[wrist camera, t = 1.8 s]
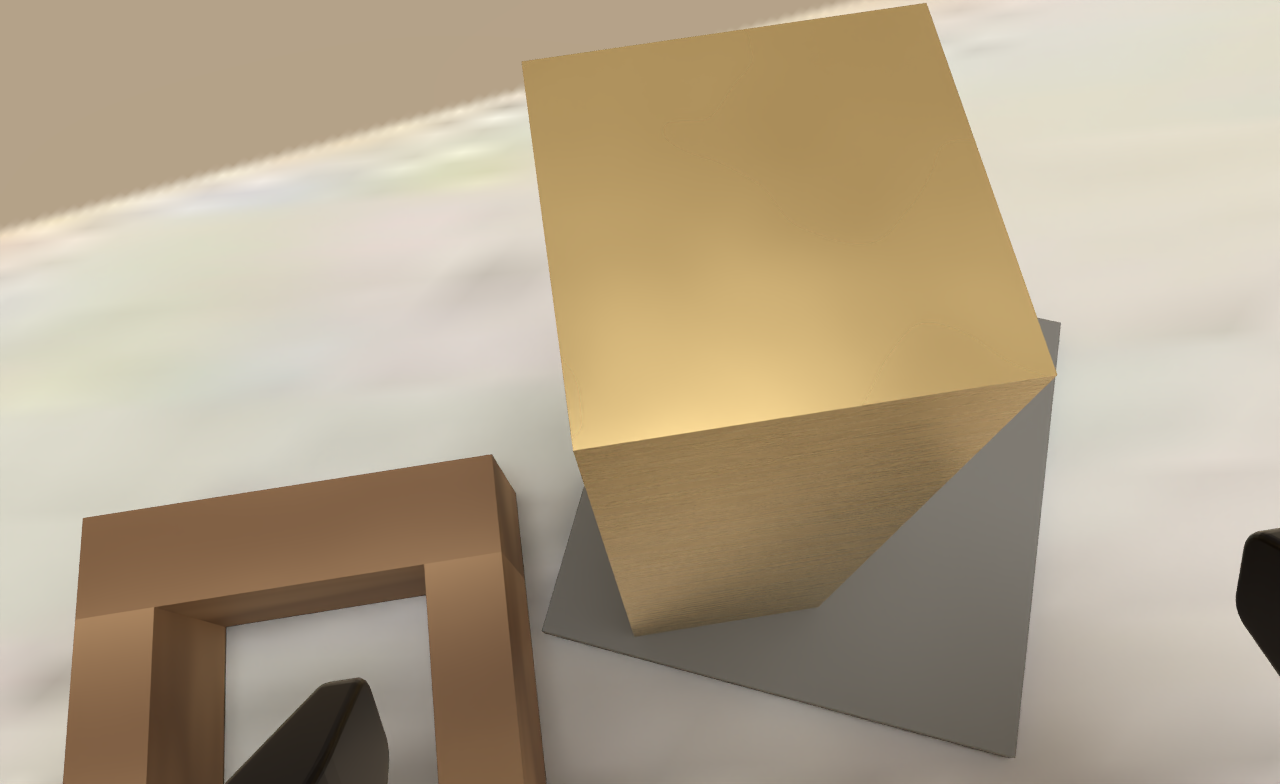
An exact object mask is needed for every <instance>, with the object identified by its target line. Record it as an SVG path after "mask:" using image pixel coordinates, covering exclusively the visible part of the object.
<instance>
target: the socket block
mask: <svg viewBox="0 0 1280 784" xmlns="http://www.w3.org/2000/svg"><path fill="white" fill-rule="evenodd" d="M422 595H426V599H427V615H428V630H429V645H430V660H431V676H432V691H433V706H434V721H435V737H436V752H437V767H438V783H439V784H546V775H545V766H544V757H543V747H542V738H541V728H540V719H539V709H538V700H537V691H536V681H535V672H534V662H533V653H532V643H531V634H530V625H529V615H528V606H527V596H526V587H525V577H524V568H523V558H522V549H521V540H520V530H519V521H518V511H517V502H516V493H515V492H514V490H513V488H512V487H511V485H510V483H509V482H508V480H507V478H506V477H505V475H504V474H503V472H502V470H501V469H500V467H499V465H498V464H497V462H496V460H495V459H494V457H493V455H492V454H491V455H484V456H478V457H472V458H465V459H459V460H452V461H446V462H439V463H433V464H427V465H420V466H414V467H407V468H401V469H395V470H388V471H382V472H375V473H369V474H363V475H356V476H350V477H343V478H337V479H331V480H324V481H318V482H311V483H305V484H299V485H292V486H286V487H279V488H273V489H267V490H260V491H254V492H247V493H241V494H234V495H228V496H222V497H215V498H209V499H202V500H196V501H190V502H183V503H177V504H170V505H164V506H158V507H151V508H145V509H138V510H132V511H126V512H119V513H113V514H106V515H100V516H94V517H87V518H83V524H82V537H81V550H80V564H79V577H78V590H77V603H76V617H75V630H74V643H73V656H72V670H71V683H70V696H69V709H68V723H67V736H66V749H65V762H64V776H63V784H223V764H224V698H225V633H226V627H228V626H234V625H240V624H247V623H253V622H259V621H265V620H272V619H278V618H284V617H290V616H297V615H303V614H309V613H316V612H322V611H328V610H334V609H341V608H347V607H353V606H359V605H366V604H372V603H378V602H384V601H391V600H397V599H403V598H409V597H416V596H422Z"/></svg>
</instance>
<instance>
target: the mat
mask: <svg viewBox="0 0 1280 784" xmlns="http://www.w3.org/2000/svg"><path fill="white" fill-rule="evenodd" d="M1037 319H1038V322H1039V324H1040V327H1041V330H1042V333H1043V336H1044V339H1045V341H1046V344H1047V347H1048V350H1049V353H1050V356H1051V359H1052V361H1053V364H1054V367H1055V370H1056V364H1057V355H1058V345H1059V336H1060V326H1061V323H1059V322H1055V321H1050V320H1045V319H1040V318H1037ZM1054 383H1055V378H1054V379H1053V380H1052V381H1051V382H1050V383H1049V384H1048V385H1047V386H1045V387H1044V388H1043V389H1042V390H1041V391H1040V392H1039V393H1038V394H1037V395H1036V396H1035V397H1034V398H1033V399H1032V400H1031V401H1030V402H1029V403H1028V404H1027V405H1026V406H1025V407H1024V408H1023V409H1022V410H1021V411H1020V412H1019V413H1018V414H1017V415H1016V416H1015V417H1014V418H1013V419H1012V420H1010V421H1009V422H1008V423H1007V424H1006V425H1005V426H1004V427H1003V428H1002V429H1001V430H1000V431H999V432H998V433H997V434H996V435H995V436H994V437H993V438H992V439H991V440H990V441H989V442H988V443H987V444H986V445H985V446H984V447H983V448H982V449H981V450H980V451H979V452H978V453H976V454H975V455H974V456H973V457H972V458H971V459H970V460H969V461H968V462H967V463H966V464H965V465H964V466H963V467H962V468H961V469H960V470H959V471H958V472H957V473H956V474H955V475H954V476H953V477H952V478H951V479H950V480H949V481H948V482H947V483H946V484H945V485H944V486H943V487H941V488H940V489H939V490H938V491H937V492H936V493H935V494H934V495H933V496H932V497H931V498H930V499H929V500H928V501H927V502H926V503H925V504H924V505H923V506H922V507H921V508H920V509H919V510H918V511H917V512H916V513H915V514H914V515H913V516H912V517H911V518H910V519H909V520H908V521H906V522H905V523H904V524H903V525H902V526H901V527H900V528H899V529H898V530H897V531H896V532H895V533H894V534H893V535H892V536H891V537H890V538H889V539H888V540H887V541H886V542H885V543H884V544H883V545H882V546H881V547H880V548H879V549H878V550H877V551H876V552H875V553H874V554H873V555H871V556H870V557H869V558H868V559H867V560H866V561H865V562H864V563H863V564H862V565H861V566H860V567H859V568H858V569H857V570H856V571H855V572H854V573H853V574H852V575H851V576H850V577H849V578H848V579H847V580H846V581H845V582H844V583H843V584H842V585H841V586H840V587H839V588H837V589H836V590H835V591H834V592H833V593H832V594H831V595H830V596H829V597H828V598H827V599H826V600H825V601H824V602H823V603H822V604H821V605H820V606H819V607H816V608H810V609H804V610H798V611H791V612H785V613H779V614H773V615H767V616H761V617H754V618H748V619H742V620H736V621H730V622H724V623H717V624H711V625H705V626H699V627H693V628H687V629H680V630H674V631H668V632H662V633H656V634H650V635H643V636H637V637H634V634H633V631H632V628H631V625H630V622H629V619H628V616H627V613H626V610H625V607H624V604H623V601H622V598H621V595H620V592H619V589H618V586H617V583H616V580H615V576H614V573H613V570H612V567H611V564H610V561H609V558H608V555H607V552H606V549H605V546H604V543H603V540H602V537H601V534H600V531H599V528H598V525H597V522H596V519H595V516H594V513H593V510H592V506H591V503H590V500H589V497H588V494H587V491H586V488H585V485H584V488H583V492H582V495H581V499H580V502H579V506H578V509H577V512H576V516H575V519H574V523H573V526H572V530H571V533H570V536H569V540H568V543H567V547H566V550H565V553H564V557H563V560H562V564H561V567H560V571H559V574H558V577H557V581H556V584H555V588H554V591H553V595H552V598H551V601H550V605H549V608H548V612H547V615H546V619H545V622H544V625H543V629H542V631H543V632H544V633H546V634H550V635H554V636H558V637H561V638H565V639H569V640H572V641H576V642H580V643H584V644H587V645H591V646H595V647H599V648H602V649H606V650H610V651H613V652H617V653H621V654H625V655H628V656H632V657H636V658H639V659H643V660H647V661H651V662H654V663H658V664H662V665H666V666H669V667H673V668H677V669H680V670H684V671H688V672H692V673H695V674H699V675H703V676H706V677H710V678H714V679H718V680H721V681H725V682H729V683H733V684H736V685H740V686H744V687H747V688H751V689H755V690H759V691H762V692H766V693H770V694H773V695H777V696H781V697H785V698H788V699H792V700H796V701H800V702H803V703H807V704H811V705H814V706H818V707H822V708H826V709H829V710H833V711H837V712H841V713H844V714H848V715H852V716H855V717H859V718H863V719H867V720H870V721H874V722H878V723H881V724H885V725H889V726H893V727H896V728H900V729H904V730H908V731H911V732H915V733H919V734H922V735H926V736H930V737H934V738H937V739H941V740H945V741H948V742H952V743H956V744H960V745H963V746H967V747H971V748H975V749H978V750H982V751H986V752H989V753H993V754H997V755H1001V756H1004V757H1008V758H1015V755H1016V745H1017V736H1018V726H1019V717H1020V707H1021V697H1022V688H1023V678H1024V669H1025V659H1026V650H1027V640H1028V631H1029V621H1030V612H1031V602H1032V593H1033V583H1034V574H1035V564H1036V555H1037V545H1038V536H1039V526H1040V517H1041V507H1042V498H1043V488H1044V478H1045V469H1046V459H1047V450H1048V440H1049V431H1050V421H1051V412H1052V402H1053V393H1054Z"/></svg>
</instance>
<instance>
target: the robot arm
mask: <svg viewBox="0 0 1280 784" xmlns="http://www.w3.org/2000/svg"><path fill="white" fill-rule="evenodd" d="M1236 607H1237V611H1238V614H1239V616H1240V618H1241V621H1242V622H1243V624H1244V626H1245V627H1246V629H1247V630H1248V631H1249V633H1250V634H1251V636H1252V637H1253V639H1254V640H1255V642H1256V643H1257V644H1258V646H1259V647H1260V649H1261V650H1262V652H1263V653H1264V654H1265V656H1266V657H1267V659H1268V660H1269V662H1270V663H1271V665H1272V666H1273V667H1274V669H1275V670H1276V672H1277V673H1278V675H1279V676H1280V528H1276V529H1270V530H1264V531H1258V532H1255V533H1253V534H1251V535H1250V536H1249V537H1248V539H1247V540H1246V542H1245V545H1244V550H1243V556H1242V562H1241V568H1240V574H1239V579H1238V585H1237V591H1236ZM388 769H389V750H388V743H387V738H386V735H385V732H384V729H383V726H382V722H381V719H380V716H379V713H378V710H377V707H376V704H375V701H374V698H373V695H372V692H371V689H370V686H369V685H368V683H367V682H366V681H365V680H363V679H361V678H352V679H346V680H339V681H333V682H328V683H325V684H323V685H321V686H320V687H319V688H317V689H316V690H315V691H314V692H313V693H312V694H311V695H310V696H309V698H308V699H307V700H306V701H305V702H304V703H303V704H302V705H301V706H300V707H299V708H298V709H297V710H296V711H295V712H294V713H293V714H292V715H291V716H290V717H289V718H288V719H287V720H286V721H285V722H284V723H283V724H282V725H281V726H280V727H279V728H278V729H277V730H276V731H275V732H274V734H273V735H272V736H271V737H270V738H269V739H268V740H267V741H266V742H265V743H264V744H263V745H262V746H261V747H260V748H259V749H258V750H257V751H256V752H255V753H254V754H253V755H252V756H251V757H250V758H249V759H248V760H247V761H246V762H245V763H244V764H243V765H242V766H241V767H240V768H239V770H238V771H237V772H236V773H235V774H234V775H233V776H232V777H231V778H230V779H229V780H228V781H227V782H226V783H225V784H387V782H388Z"/></svg>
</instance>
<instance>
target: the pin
mask: <svg viewBox="0 0 1280 784" xmlns="http://www.w3.org/2000/svg"><path fill="white" fill-rule="evenodd" d="M522 69H523V76H524V84H525V91H526V99H527V107H528V114H529V122H530V129H531V137H532V144H533V152H534V159H535V167H536V174H537V182H538V189H539V197H540V204H541V212H542V220H543V227H544V235H545V242H546V250H547V257H548V265H549V272H550V280H551V287H552V295H553V302H554V310H555V318H556V325H557V333H558V340H559V348H560V355H561V363H562V370H563V378H564V385H565V393H566V400H567V408H568V416H569V423H570V431H571V438H572V446H573V452H574V455H575V458H576V461H577V464H578V467H579V470H580V473H581V476H582V479H583V482H584V485H585V488H586V491H587V494H588V497H589V500H590V503H591V506H592V510H593V513H594V516H595V519H596V522H597V525H598V528H599V531H600V534H601V537H602V540H603V543H604V546H605V549H606V552H607V555H608V558H609V561H610V564H611V567H612V570H613V573H614V576H615V580H616V583H617V586H618V589H619V592H620V595H621V598H622V601H623V604H624V607H625V610H626V613H627V616H628V619H629V622H630V625H631V628H632V631H633V634H634V637H637V636H643V635H650V634H656V633H662V632H668V631H674V630H680V629H687V628H693V627H699V626H705V625H711V624H717V623H724V622H730V621H736V620H742V619H748V618H754V617H761V616H767V615H773V614H779V613H785V612H791V611H798V610H804V609H810V608H816V607H819V606H820V605H821V604H822V603H823V602H824V601H825V600H826V599H827V598H828V597H829V596H830V595H831V594H832V593H833V592H834V591H835V590H836V589H837V588H839V587H840V586H841V585H842V584H843V583H844V582H845V581H846V580H847V579H848V578H849V577H850V576H851V575H852V574H853V573H854V572H855V571H856V570H857V569H858V568H859V567H860V566H861V565H862V564H863V563H864V562H865V561H866V560H867V559H868V558H869V557H870V556H871V555H873V554H874V553H875V552H876V551H877V550H878V549H879V548H880V547H881V546H882V545H883V544H884V543H885V542H886V541H887V540H888V539H889V538H890V537H891V536H892V535H893V534H894V533H895V532H896V531H897V530H898V529H899V528H900V527H901V526H902V525H903V524H904V523H905V522H906V521H908V520H909V519H910V518H911V517H912V516H913V515H914V514H915V513H916V512H917V511H918V510H919V509H920V508H921V507H922V506H923V505H924V504H925V503H926V502H927V501H928V500H929V499H930V498H931V497H932V496H933V495H934V494H935V493H936V492H937V491H938V490H939V489H940V488H941V487H943V486H944V485H945V484H946V483H947V482H948V481H949V480H950V479H951V478H952V477H953V476H954V475H955V474H956V473H957V472H958V471H959V470H960V469H961V468H962V467H963V466H964V465H965V464H966V463H967V462H968V461H969V460H970V459H971V458H972V457H973V456H974V455H975V454H976V453H978V452H979V451H980V450H981V449H982V448H983V447H984V446H985V445H986V444H987V443H988V442H989V441H990V440H991V439H992V438H993V437H994V436H995V435H996V434H997V433H998V432H999V431H1000V430H1001V429H1002V428H1003V427H1004V426H1005V425H1006V424H1007V423H1008V422H1009V421H1010V420H1012V419H1013V418H1014V417H1015V416H1016V415H1017V414H1018V413H1019V412H1020V411H1021V410H1022V409H1023V408H1024V407H1025V406H1026V405H1027V404H1028V403H1029V402H1030V401H1031V400H1032V399H1033V398H1034V397H1035V396H1036V395H1037V394H1038V393H1039V392H1040V391H1041V390H1042V389H1043V388H1044V387H1045V386H1047V385H1048V384H1049V383H1050V382H1051V381H1052V380H1053V379H1054V378H1055V377H1056V376H1057V373H1056V370H1055V367H1054V364H1053V361H1052V359H1051V356H1050V353H1049V350H1048V347H1047V344H1046V341H1045V339H1044V336H1043V333H1042V330H1041V327H1040V324H1039V322H1038V319H1037V316H1036V313H1035V310H1034V307H1033V305H1032V302H1031V299H1030V296H1029V293H1028V290H1027V287H1026V285H1025V282H1024V279H1023V276H1022V273H1021V270H1020V268H1019V265H1018V262H1017V259H1016V256H1015V253H1014V251H1013V248H1012V245H1011V242H1010V239H1009V236H1008V233H1007V231H1006V228H1005V225H1004V222H1003V219H1002V216H1001V214H1000V211H999V208H998V205H997V202H996V199H995V197H994V194H993V191H992V188H991V185H990V182H989V179H988V177H987V174H986V171H985V168H984V165H983V162H982V160H981V157H980V154H979V151H978V148H977V145H976V143H975V140H974V137H973V134H972V131H971V128H970V125H969V123H968V120H967V117H966V114H965V111H964V108H963V106H962V103H961V100H960V97H959V94H958V91H957V89H956V86H955V83H954V80H953V77H952V74H951V71H950V69H949V66H948V63H947V60H946V57H945V54H944V52H943V49H942V46H941V43H940V40H939V37H938V34H937V32H936V29H935V26H934V23H933V20H932V17H931V15H930V12H929V9H928V6H927V3H923V4H916V5H909V6H902V7H895V8H888V9H881V10H874V11H867V12H861V13H854V14H847V15H840V16H833V17H826V18H819V19H812V20H805V21H798V22H792V23H785V24H778V25H771V26H764V27H757V28H750V29H743V30H736V31H729V32H723V33H716V34H709V35H702V36H695V37H688V38H681V39H674V40H667V41H661V42H654V43H647V44H640V45H633V46H626V47H619V48H613V49H605V50H598V51H592V52H584V53H578V54H571V55H564V56H557V57H550V58H544V59H536V60H529V61H522Z"/></svg>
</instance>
